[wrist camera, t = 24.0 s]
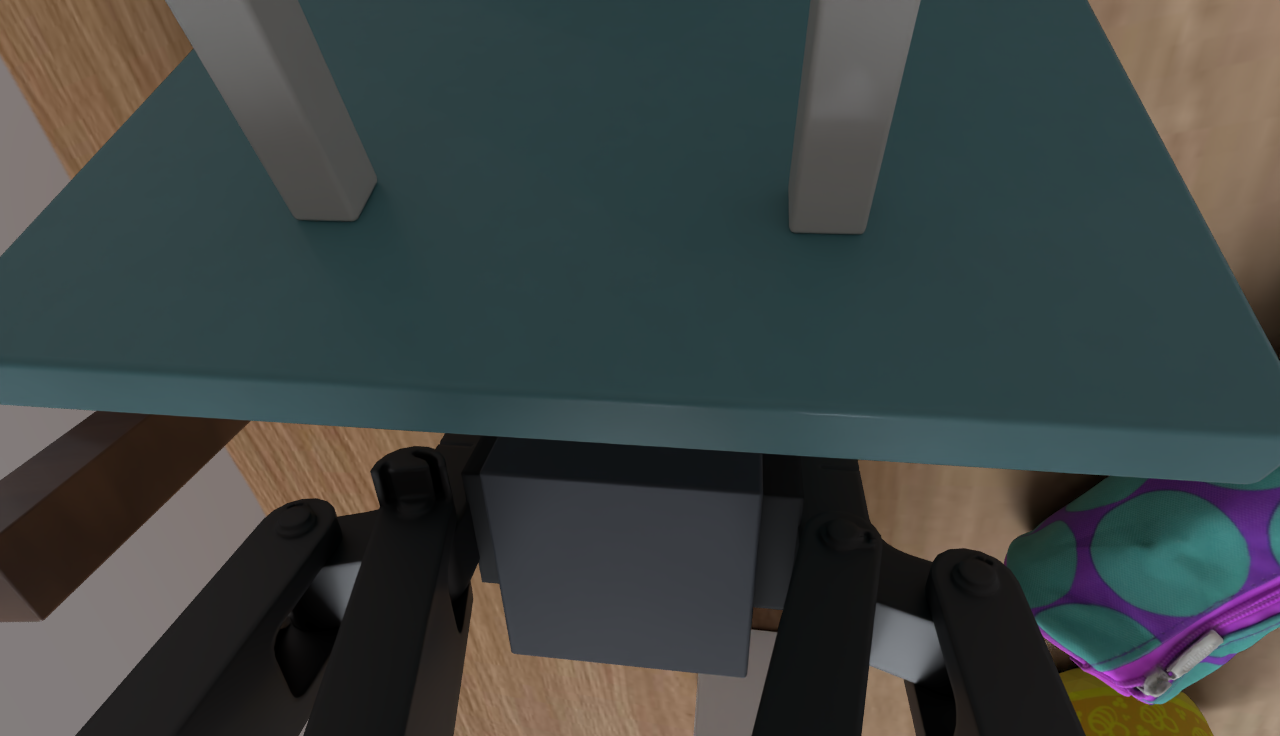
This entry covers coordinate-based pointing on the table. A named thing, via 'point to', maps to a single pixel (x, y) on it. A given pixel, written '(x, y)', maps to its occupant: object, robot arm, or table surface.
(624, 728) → the table surface
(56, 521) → the post stand
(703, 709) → the milk carton
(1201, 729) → the yellow pot
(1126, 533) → the pencil case
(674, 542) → the block
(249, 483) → the table surface
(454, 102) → the lid
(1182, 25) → the table surface
